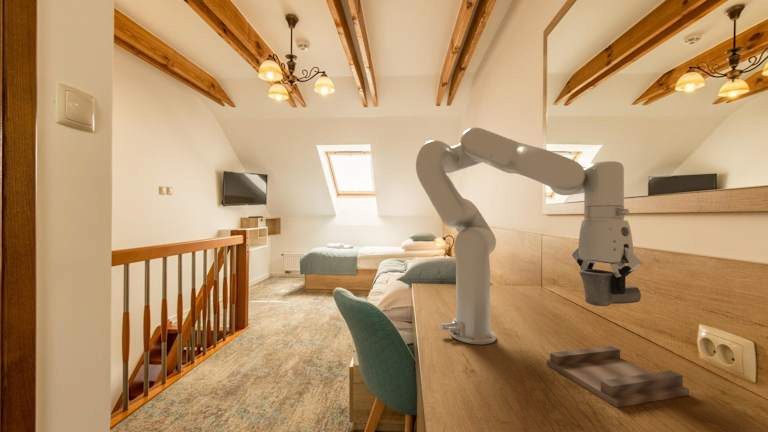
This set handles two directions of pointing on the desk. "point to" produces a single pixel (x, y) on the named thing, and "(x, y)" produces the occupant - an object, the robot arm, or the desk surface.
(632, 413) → the desk surface
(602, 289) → the pipe
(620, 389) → the cradle
